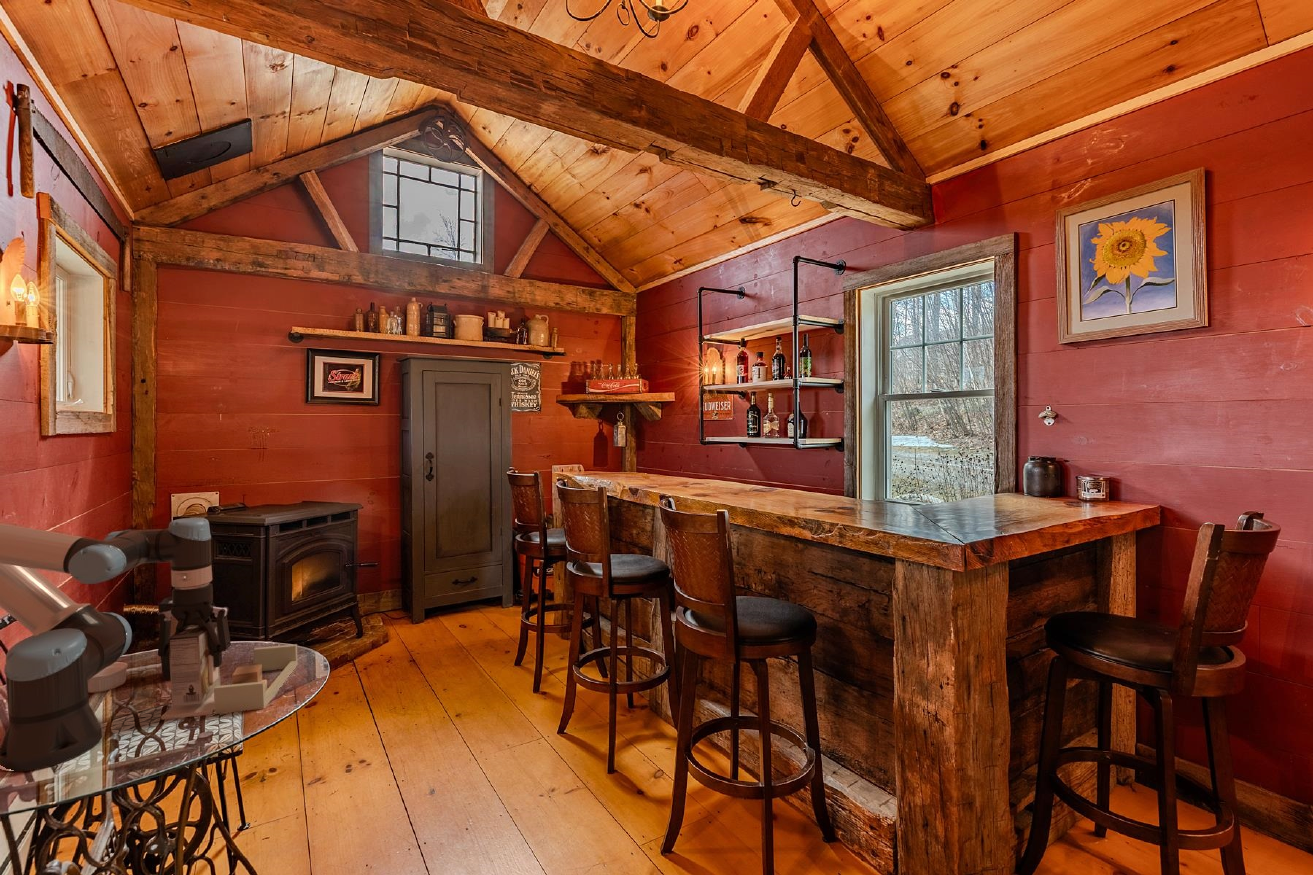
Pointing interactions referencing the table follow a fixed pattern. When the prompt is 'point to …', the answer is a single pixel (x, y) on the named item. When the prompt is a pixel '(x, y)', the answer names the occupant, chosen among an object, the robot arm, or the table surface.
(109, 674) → the round wooden block
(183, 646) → the coffee box
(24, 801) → the table surface
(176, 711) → the plate
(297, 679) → the table surface
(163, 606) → the travel mug
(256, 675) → the offcut top
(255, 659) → the rack
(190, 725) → the table surface
